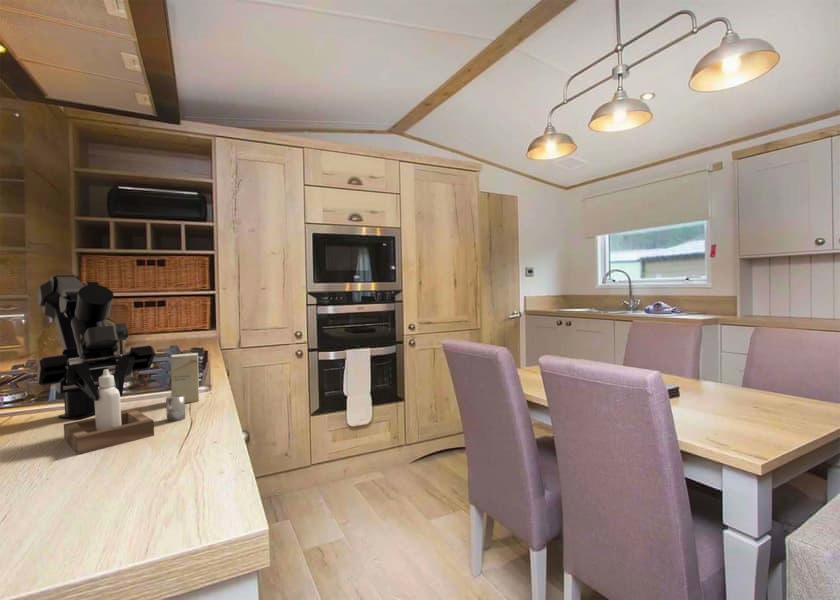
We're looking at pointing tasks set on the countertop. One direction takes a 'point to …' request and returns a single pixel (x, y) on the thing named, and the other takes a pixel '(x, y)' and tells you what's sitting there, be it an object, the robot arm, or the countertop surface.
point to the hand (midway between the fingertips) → (109, 397)
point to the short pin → (175, 408)
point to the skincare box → (185, 376)
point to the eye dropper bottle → (107, 403)
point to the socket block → (107, 432)
